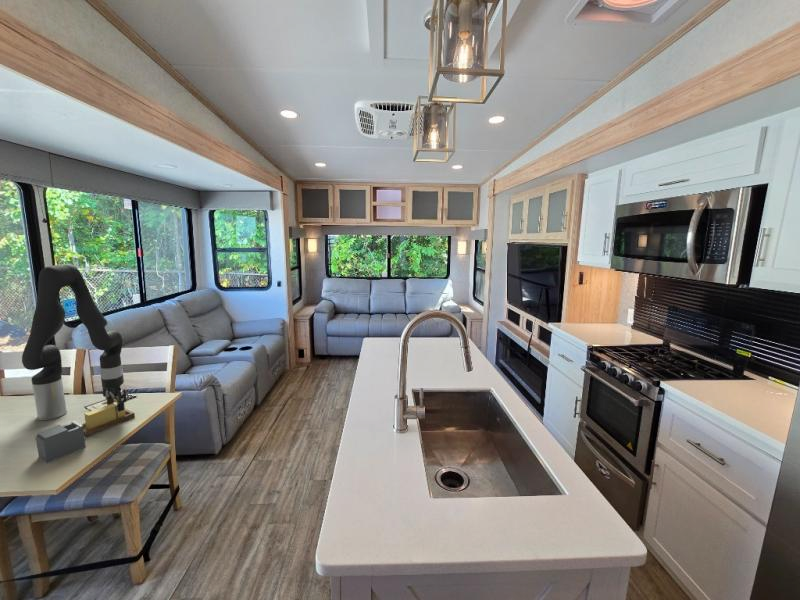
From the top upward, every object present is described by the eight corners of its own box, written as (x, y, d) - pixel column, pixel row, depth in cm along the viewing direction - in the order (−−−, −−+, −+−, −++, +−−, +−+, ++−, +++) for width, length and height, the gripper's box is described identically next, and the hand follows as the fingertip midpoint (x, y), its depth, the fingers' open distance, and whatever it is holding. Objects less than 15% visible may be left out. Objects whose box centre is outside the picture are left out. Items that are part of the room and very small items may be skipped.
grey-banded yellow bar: (86, 428, 142) (84, 413, 141) (121, 414, 154) (120, 400, 152) (90, 430, 141) (88, 415, 139) (125, 416, 152) (124, 402, 151)
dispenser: (38, 457, 124) (34, 433, 123) (77, 441, 134) (74, 419, 133) (47, 463, 122) (43, 439, 120) (85, 446, 132) (82, 424, 130)
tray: (75, 431, 141) (74, 426, 140) (124, 412, 157) (124, 408, 157) (85, 437, 137) (84, 432, 137) (134, 417, 153) (134, 412, 153)
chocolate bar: (137, 395, 172) (94, 411, 156) (137, 397, 172) (94, 413, 156) (127, 391, 175) (84, 406, 159) (127, 393, 176) (84, 408, 159)
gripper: (93, 374, 146) (97, 407, 149) (110, 381, 141) (114, 416, 144) (113, 368, 153) (117, 400, 156) (130, 375, 147) (134, 408, 150)
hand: (115, 408), depth 150 cm, fingers open, 8 cm apart
